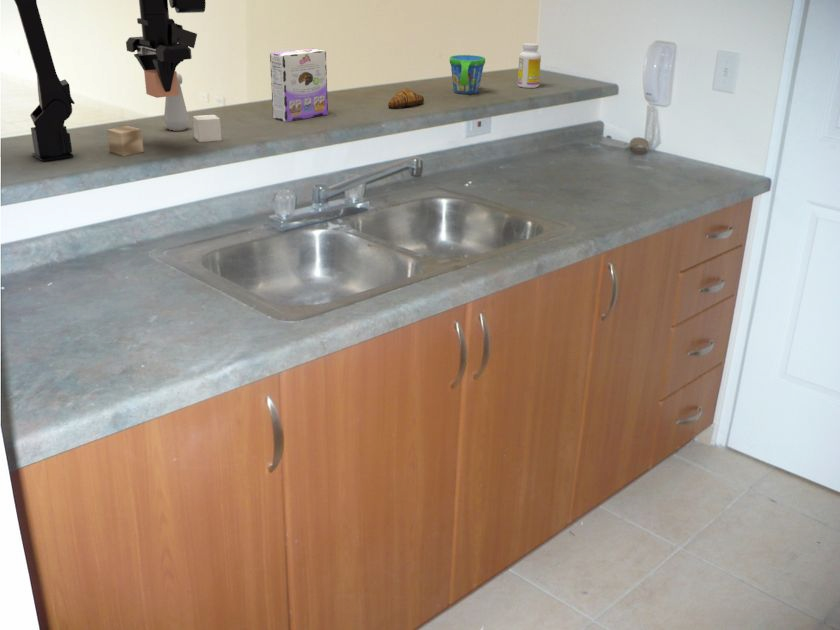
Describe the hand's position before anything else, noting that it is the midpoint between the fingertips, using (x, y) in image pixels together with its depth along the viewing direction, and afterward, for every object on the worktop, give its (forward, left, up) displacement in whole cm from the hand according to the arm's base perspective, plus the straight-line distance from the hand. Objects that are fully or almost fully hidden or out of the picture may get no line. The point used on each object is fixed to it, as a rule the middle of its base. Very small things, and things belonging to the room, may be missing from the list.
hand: (162, 89), depth 190 cm
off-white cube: (+11, +2, -13) cm, 17 cm away
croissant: (+74, +6, -13) cm, 75 cm away
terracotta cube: (0, 0, -1) cm, 1 cm away
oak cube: (-9, +1, -13) cm, 16 cm away
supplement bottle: (+125, +7, -13) cm, 126 cm away
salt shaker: (+10, +15, -13) cm, 22 cm away
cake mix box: (+42, +10, -13) cm, 45 cm away
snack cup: (+102, +11, -13) cm, 103 cm away
